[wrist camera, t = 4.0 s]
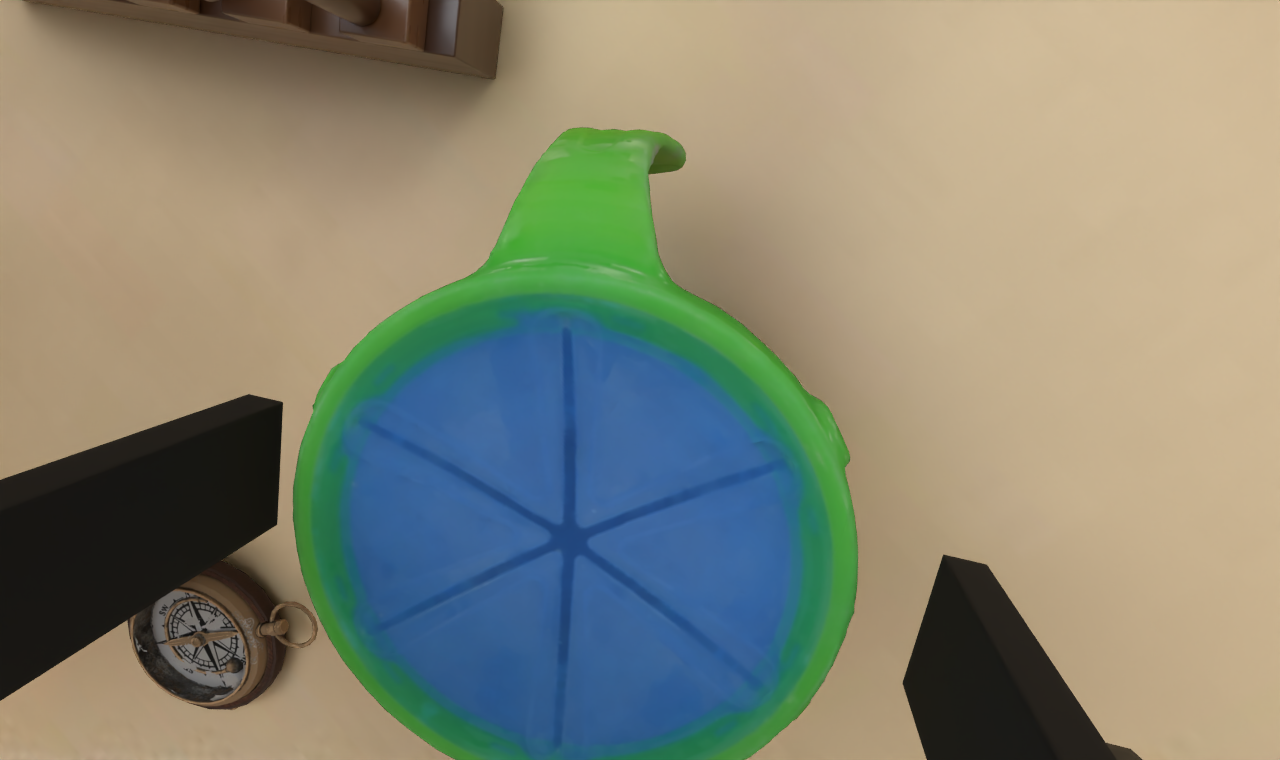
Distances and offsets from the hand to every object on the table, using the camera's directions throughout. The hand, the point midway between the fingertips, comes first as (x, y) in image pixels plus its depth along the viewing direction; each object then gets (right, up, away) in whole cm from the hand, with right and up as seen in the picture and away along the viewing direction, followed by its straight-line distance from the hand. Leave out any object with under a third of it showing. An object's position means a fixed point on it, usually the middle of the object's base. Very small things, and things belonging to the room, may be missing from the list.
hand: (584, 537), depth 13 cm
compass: (-14, -5, +13) cm, 20 cm away
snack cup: (+1, +2, +9) cm, 9 cm away
